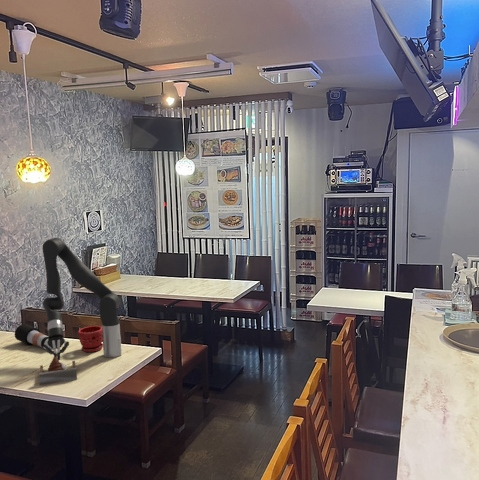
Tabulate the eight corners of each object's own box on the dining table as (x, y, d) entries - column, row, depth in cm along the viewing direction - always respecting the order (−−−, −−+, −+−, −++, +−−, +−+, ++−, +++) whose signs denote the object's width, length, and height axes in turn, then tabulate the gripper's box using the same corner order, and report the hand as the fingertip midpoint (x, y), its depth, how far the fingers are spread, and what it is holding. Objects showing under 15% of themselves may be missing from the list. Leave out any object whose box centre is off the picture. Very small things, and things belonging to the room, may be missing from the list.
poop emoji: (44, 375, 230) (42, 356, 229) (62, 370, 236) (60, 352, 235) (50, 381, 223) (49, 362, 221) (68, 376, 228) (67, 358, 227)
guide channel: (40, 370, 236) (39, 360, 236) (75, 365, 242) (74, 355, 242) (39, 385, 218) (38, 374, 218) (77, 379, 224) (76, 369, 224)
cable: (55, 360, 262) (48, 347, 257) (19, 344, 280) (11, 331, 275) (69, 347, 269) (62, 334, 264) (33, 332, 287) (25, 320, 282)
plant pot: (95, 344, 275) (94, 324, 273) (108, 348, 266) (107, 328, 265) (74, 350, 265) (73, 329, 263) (88, 355, 256) (86, 333, 255)
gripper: (41, 328, 242) (42, 359, 232) (68, 325, 247) (71, 355, 237) (42, 335, 247) (43, 366, 237) (68, 332, 252) (71, 361, 242)
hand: (57, 360), depth 237 cm, fingers closed
